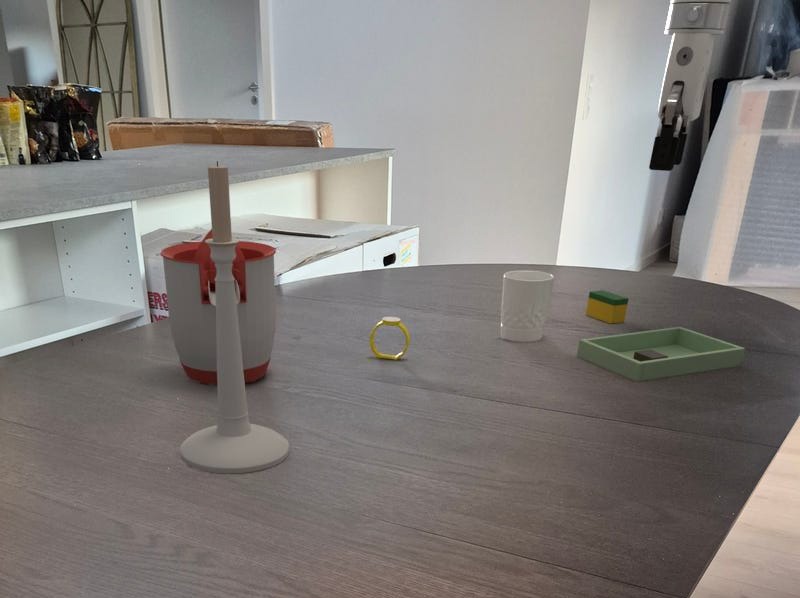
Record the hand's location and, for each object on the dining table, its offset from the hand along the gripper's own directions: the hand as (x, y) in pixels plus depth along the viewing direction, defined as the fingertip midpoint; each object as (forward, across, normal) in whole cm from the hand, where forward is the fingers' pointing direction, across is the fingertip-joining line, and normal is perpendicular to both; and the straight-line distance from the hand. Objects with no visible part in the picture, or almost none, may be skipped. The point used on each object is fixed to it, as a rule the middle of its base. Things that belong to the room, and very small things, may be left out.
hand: (665, 167), depth 123 cm
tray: (+25, -9, -6) cm, 28 cm away
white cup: (+26, -4, +16) cm, 31 cm away
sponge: (+25, +16, +6) cm, 31 cm away
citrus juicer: (+26, -42, +50) cm, 71 cm away
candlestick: (+26, -67, +34) cm, 80 cm away
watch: (+26, -24, +32) cm, 48 cm away
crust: (+25, -10, -5) cm, 27 cm away
